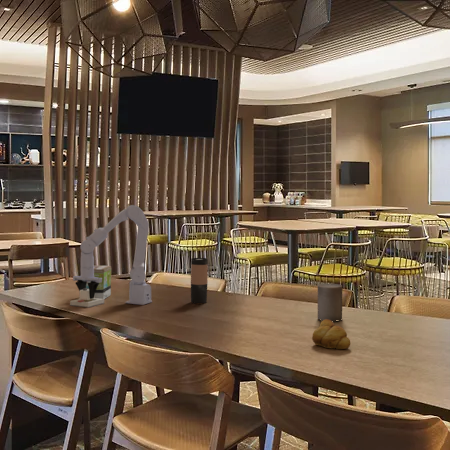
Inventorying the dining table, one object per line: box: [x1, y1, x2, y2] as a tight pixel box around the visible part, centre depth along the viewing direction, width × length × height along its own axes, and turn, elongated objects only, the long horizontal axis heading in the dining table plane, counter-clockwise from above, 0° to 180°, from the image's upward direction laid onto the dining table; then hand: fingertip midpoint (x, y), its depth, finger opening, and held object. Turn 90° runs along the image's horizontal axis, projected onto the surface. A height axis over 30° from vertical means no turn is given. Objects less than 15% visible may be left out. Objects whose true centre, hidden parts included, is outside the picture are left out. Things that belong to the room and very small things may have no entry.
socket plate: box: [69, 298, 105, 309], centre depth 250 cm, size 10×11×3 cm
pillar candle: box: [317, 282, 343, 321], centre depth 222 cm, size 10×10×15 cm
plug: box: [78, 288, 95, 302], centre depth 249 cm, size 4×5×6 cm
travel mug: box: [190, 257, 209, 304], centre depth 257 cm, size 8×8×20 cm
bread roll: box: [311, 319, 351, 350], centre depth 182 cm, size 13×10×8 cm
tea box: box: [86, 265, 112, 300], centre depth 267 cm, size 15×10×15 cm, turn 179°
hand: (87, 297), depth 249 cm, fingers closed on plug, 4 cm apart
